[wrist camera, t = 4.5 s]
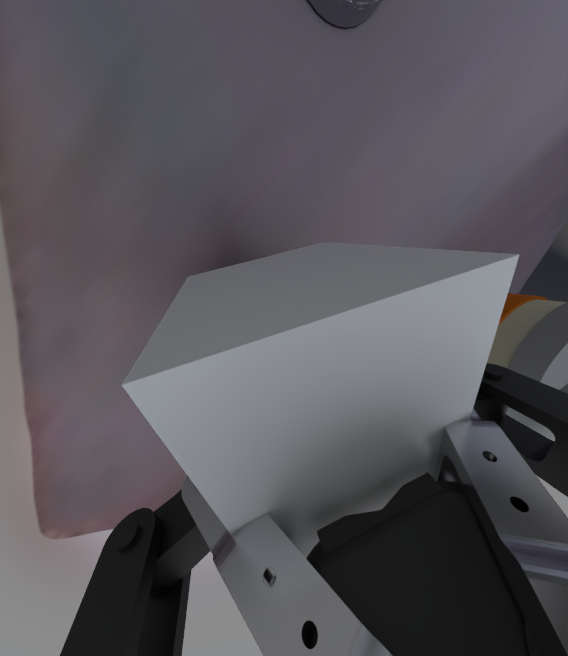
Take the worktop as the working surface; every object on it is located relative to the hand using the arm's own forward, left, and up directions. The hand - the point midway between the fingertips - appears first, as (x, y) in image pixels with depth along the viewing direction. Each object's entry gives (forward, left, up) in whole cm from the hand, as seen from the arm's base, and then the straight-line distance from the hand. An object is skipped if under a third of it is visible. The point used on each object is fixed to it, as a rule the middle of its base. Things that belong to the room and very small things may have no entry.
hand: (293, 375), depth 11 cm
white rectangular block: (0, 0, -2) cm, 2 cm away
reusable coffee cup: (+13, +32, -16) cm, 38 cm away
